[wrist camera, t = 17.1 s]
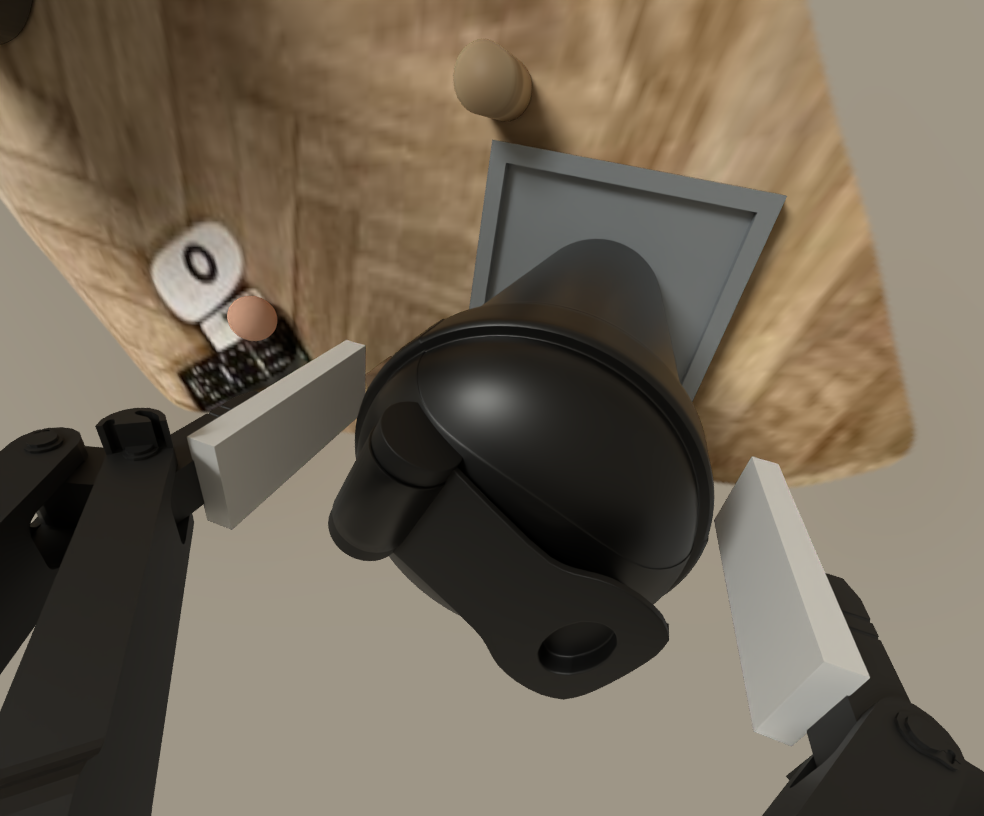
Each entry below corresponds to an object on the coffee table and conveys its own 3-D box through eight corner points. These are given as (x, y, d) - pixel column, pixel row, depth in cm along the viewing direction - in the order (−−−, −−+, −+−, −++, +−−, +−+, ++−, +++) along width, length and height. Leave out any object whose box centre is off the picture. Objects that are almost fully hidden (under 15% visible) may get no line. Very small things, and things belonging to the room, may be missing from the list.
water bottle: (606, 405, 32) (539, 772, 13) (489, 323, 32) (240, 569, 12) (714, 288, 26) (886, 623, 7) (573, 187, 26) (360, 253, 7)
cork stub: (477, 116, 27) (450, 109, 23) (485, 53, 25) (457, 34, 21) (526, 125, 26) (505, 119, 22) (537, 61, 24) (517, 43, 21)
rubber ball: (253, 326, 39) (220, 340, 36) (248, 286, 37) (212, 297, 34) (288, 337, 39) (258, 352, 36) (285, 296, 37) (252, 309, 34)
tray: (465, 375, 35) (459, 382, 34) (498, 140, 27) (492, 139, 26) (671, 435, 32) (672, 445, 31) (780, 194, 24) (787, 195, 23)
